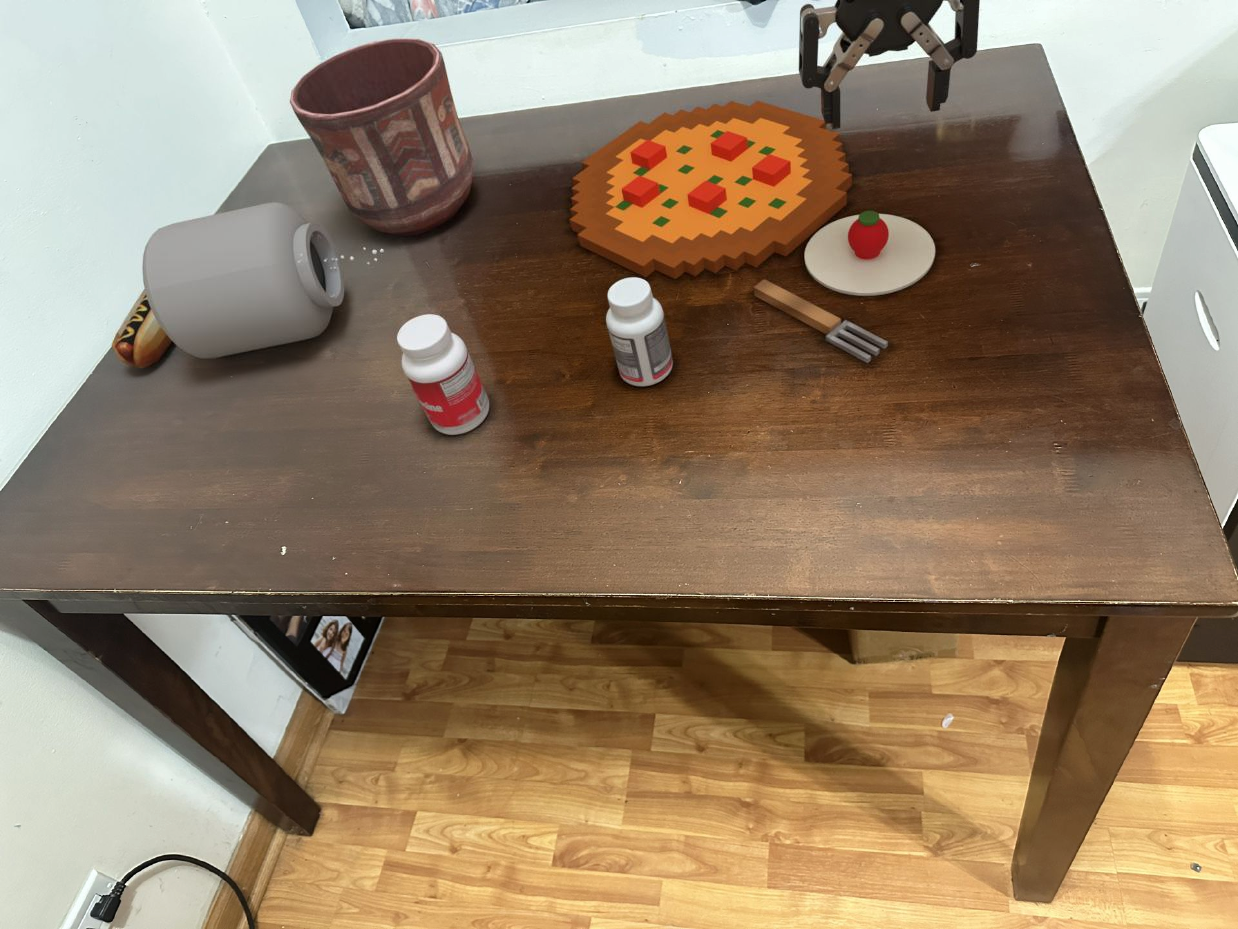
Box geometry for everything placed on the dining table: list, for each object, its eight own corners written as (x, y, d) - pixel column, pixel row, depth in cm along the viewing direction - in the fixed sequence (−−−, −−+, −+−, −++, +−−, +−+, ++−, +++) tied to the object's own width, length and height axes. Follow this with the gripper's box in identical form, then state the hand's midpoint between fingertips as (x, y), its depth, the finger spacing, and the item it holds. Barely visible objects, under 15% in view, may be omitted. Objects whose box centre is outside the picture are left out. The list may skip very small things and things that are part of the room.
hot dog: (206, 299, 107) (184, 266, 104) (165, 375, 99) (138, 343, 95) (171, 303, 108) (147, 271, 104) (126, 378, 100) (99, 347, 96)
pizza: (719, 313, 88) (716, 290, 86) (522, 217, 106) (515, 195, 103) (902, 155, 99) (904, 131, 97) (696, 92, 117) (693, 71, 115)
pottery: (420, 267, 103) (359, 128, 89) (328, 233, 112) (259, 101, 98) (514, 185, 111) (471, 45, 97) (421, 159, 119) (369, 28, 106)
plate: (859, 202, 95) (859, 199, 95) (962, 245, 88) (962, 241, 88) (778, 263, 91) (778, 260, 91) (878, 313, 84) (878, 310, 83)
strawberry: (864, 235, 91) (865, 199, 88) (895, 248, 89) (898, 213, 85) (839, 254, 90) (839, 219, 87) (870, 269, 87) (872, 233, 84)
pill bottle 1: (421, 413, 87) (377, 332, 78) (472, 382, 88) (435, 298, 80) (449, 447, 83) (406, 365, 75) (502, 413, 85) (466, 329, 76)
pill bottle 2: (665, 343, 87) (650, 265, 79) (679, 378, 83) (665, 300, 76) (614, 358, 87) (594, 282, 79) (625, 394, 83) (606, 317, 76)
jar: (228, 238, 106) (405, 189, 99) (257, 357, 108) (433, 318, 101) (99, 225, 88) (303, 165, 81) (137, 368, 90) (340, 322, 83)
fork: (749, 299, 89) (748, 290, 88) (769, 284, 89) (768, 275, 89) (867, 363, 80) (868, 354, 79) (887, 346, 81) (888, 336, 80)
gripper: (802, -47, 63) (808, 153, 76) (1005, -90, 61) (978, 122, 73) (788, -83, 68) (796, 110, 80) (976, -125, 66) (955, 80, 78)
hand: (883, 115), depth 77 cm, fingers open, 8 cm apart
